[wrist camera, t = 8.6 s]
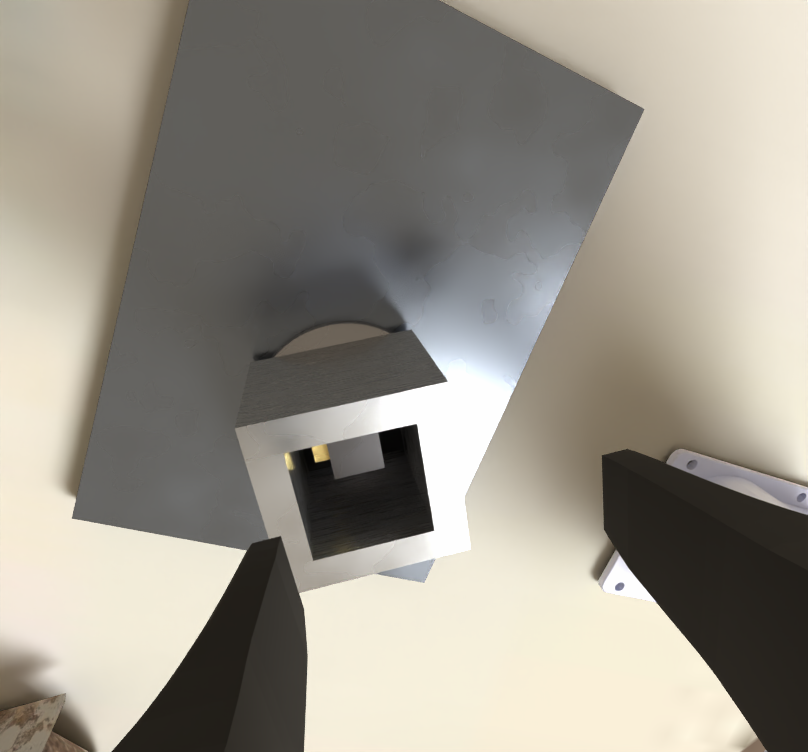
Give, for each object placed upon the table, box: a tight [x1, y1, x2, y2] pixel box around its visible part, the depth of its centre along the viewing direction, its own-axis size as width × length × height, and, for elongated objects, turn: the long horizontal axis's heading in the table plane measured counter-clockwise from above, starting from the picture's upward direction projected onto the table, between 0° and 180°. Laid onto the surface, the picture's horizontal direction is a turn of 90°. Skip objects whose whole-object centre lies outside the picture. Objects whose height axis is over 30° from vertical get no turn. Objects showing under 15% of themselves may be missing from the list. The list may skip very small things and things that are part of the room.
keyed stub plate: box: [72, 0, 644, 583], centre depth 18 cm, size 14×20×4 cm
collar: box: [235, 329, 470, 593], centre depth 17 cm, size 6×6×5 cm
